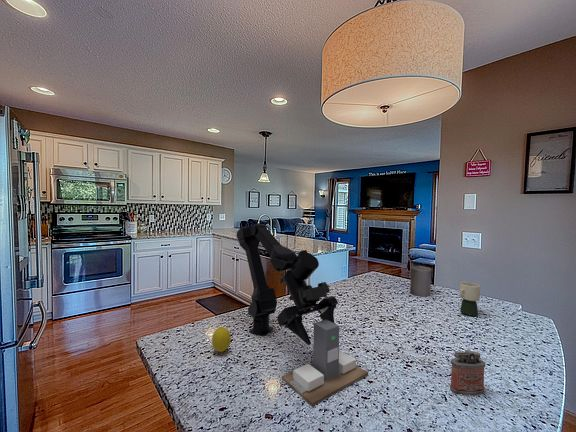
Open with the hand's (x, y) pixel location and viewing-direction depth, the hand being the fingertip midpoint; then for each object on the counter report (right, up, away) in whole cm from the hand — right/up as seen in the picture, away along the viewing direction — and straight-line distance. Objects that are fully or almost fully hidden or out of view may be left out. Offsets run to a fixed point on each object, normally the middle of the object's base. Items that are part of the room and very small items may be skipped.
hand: (322, 339), depth 74 cm
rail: (+1, -10, -1) cm, 10 cm away
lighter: (+35, -11, -5) cm, 37 cm away
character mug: (+68, -9, +44) cm, 81 cm away
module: (+1, -9, -1) cm, 9 cm away
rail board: (+1, -10, -1) cm, 10 cm away
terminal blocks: (+1, -9, -1) cm, 9 cm away
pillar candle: (+60, -8, +70) cm, 92 cm away
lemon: (-30, -9, +11) cm, 33 cm away
